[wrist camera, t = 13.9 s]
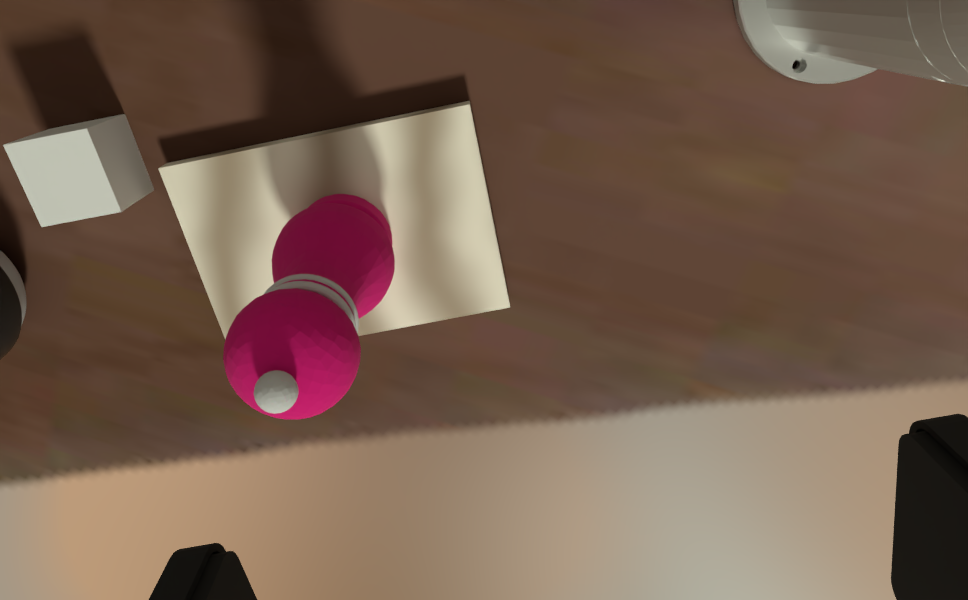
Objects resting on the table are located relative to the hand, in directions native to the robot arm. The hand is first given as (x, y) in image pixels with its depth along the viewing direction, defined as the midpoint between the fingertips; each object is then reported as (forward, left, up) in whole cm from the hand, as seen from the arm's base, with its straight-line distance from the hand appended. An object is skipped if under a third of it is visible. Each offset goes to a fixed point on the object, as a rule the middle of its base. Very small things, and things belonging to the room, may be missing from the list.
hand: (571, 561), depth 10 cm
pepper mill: (+11, +6, -37) cm, 39 cm away
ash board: (+11, +6, -38) cm, 40 cm away
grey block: (+25, -2, -38) cm, 46 cm away
